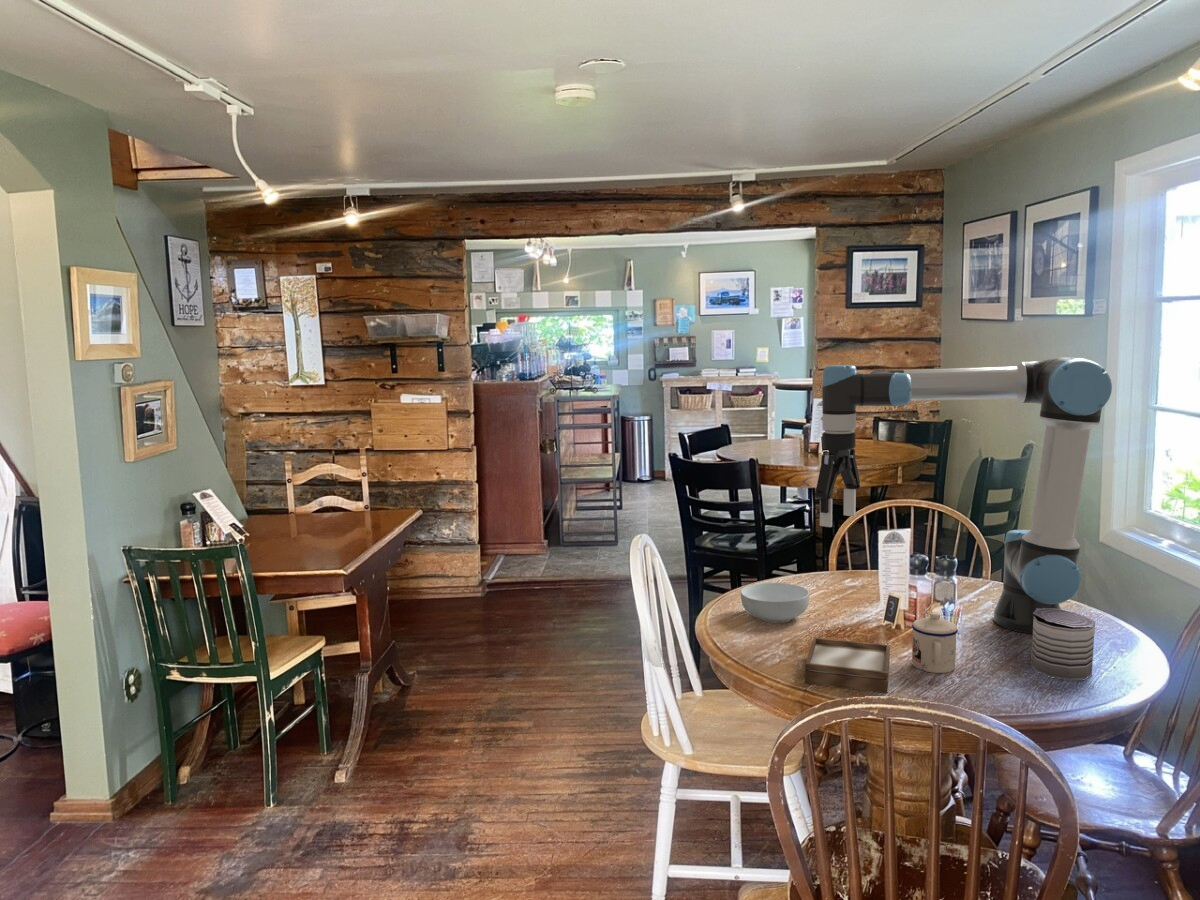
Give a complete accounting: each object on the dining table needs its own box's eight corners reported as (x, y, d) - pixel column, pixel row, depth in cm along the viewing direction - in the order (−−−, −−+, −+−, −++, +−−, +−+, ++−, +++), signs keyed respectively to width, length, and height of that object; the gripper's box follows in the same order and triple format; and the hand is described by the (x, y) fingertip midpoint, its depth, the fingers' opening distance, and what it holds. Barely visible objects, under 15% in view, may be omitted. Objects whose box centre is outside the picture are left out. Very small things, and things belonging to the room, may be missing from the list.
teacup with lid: (909, 656, 189) (910, 605, 187) (953, 659, 186) (955, 608, 185) (913, 677, 177) (915, 623, 176) (960, 681, 175) (963, 626, 173)
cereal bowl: (785, 604, 226) (785, 578, 226) (822, 623, 211) (823, 595, 210) (728, 612, 221) (728, 586, 220) (762, 633, 205) (762, 604, 204)
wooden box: (889, 663, 185) (889, 645, 184) (887, 693, 170) (887, 672, 169) (813, 655, 190) (813, 637, 190) (804, 683, 175) (805, 663, 175)
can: (1032, 656, 188) (1035, 603, 186) (1092, 665, 182) (1096, 611, 180) (1028, 674, 178) (1031, 618, 176) (1091, 685, 172) (1095, 627, 170)
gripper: (844, 425, 212) (844, 509, 215) (800, 436, 192) (799, 529, 195) (874, 426, 207) (873, 513, 210) (831, 438, 188) (831, 533, 191)
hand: (838, 520), depth 203 cm, fingers open, 13 cm apart
